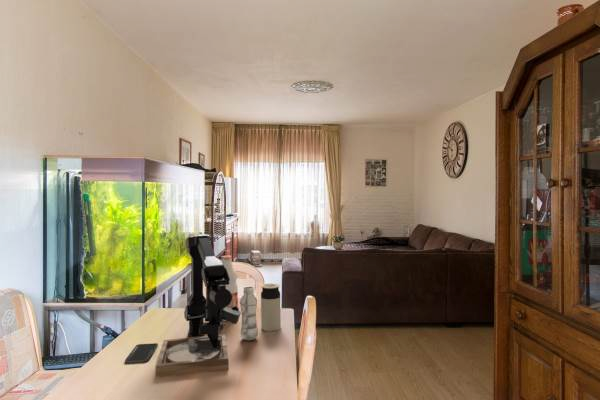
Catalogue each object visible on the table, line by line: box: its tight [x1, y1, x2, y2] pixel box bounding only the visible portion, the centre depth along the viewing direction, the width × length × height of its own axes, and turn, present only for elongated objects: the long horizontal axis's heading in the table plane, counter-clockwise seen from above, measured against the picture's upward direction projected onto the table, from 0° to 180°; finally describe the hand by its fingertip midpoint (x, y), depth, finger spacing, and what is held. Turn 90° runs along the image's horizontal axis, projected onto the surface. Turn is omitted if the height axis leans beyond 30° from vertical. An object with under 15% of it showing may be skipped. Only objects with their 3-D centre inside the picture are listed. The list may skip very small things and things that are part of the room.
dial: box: [166, 337, 221, 363], centre depth 135 cm, size 18×18×5 cm
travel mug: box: [260, 282, 282, 332], centre depth 164 cm, size 8×8×18 cm
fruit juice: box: [219, 255, 239, 322], centre depth 177 cm, size 9×9×28 cm
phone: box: [124, 342, 159, 364], centre depth 139 cm, size 8×1×15 cm
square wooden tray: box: [155, 334, 230, 378], centre depth 135 cm, size 22×22×4 cm
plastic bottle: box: [239, 286, 259, 341], centre depth 152 cm, size 6×7×20 cm
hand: (215, 347), depth 133 cm, fingers closed
